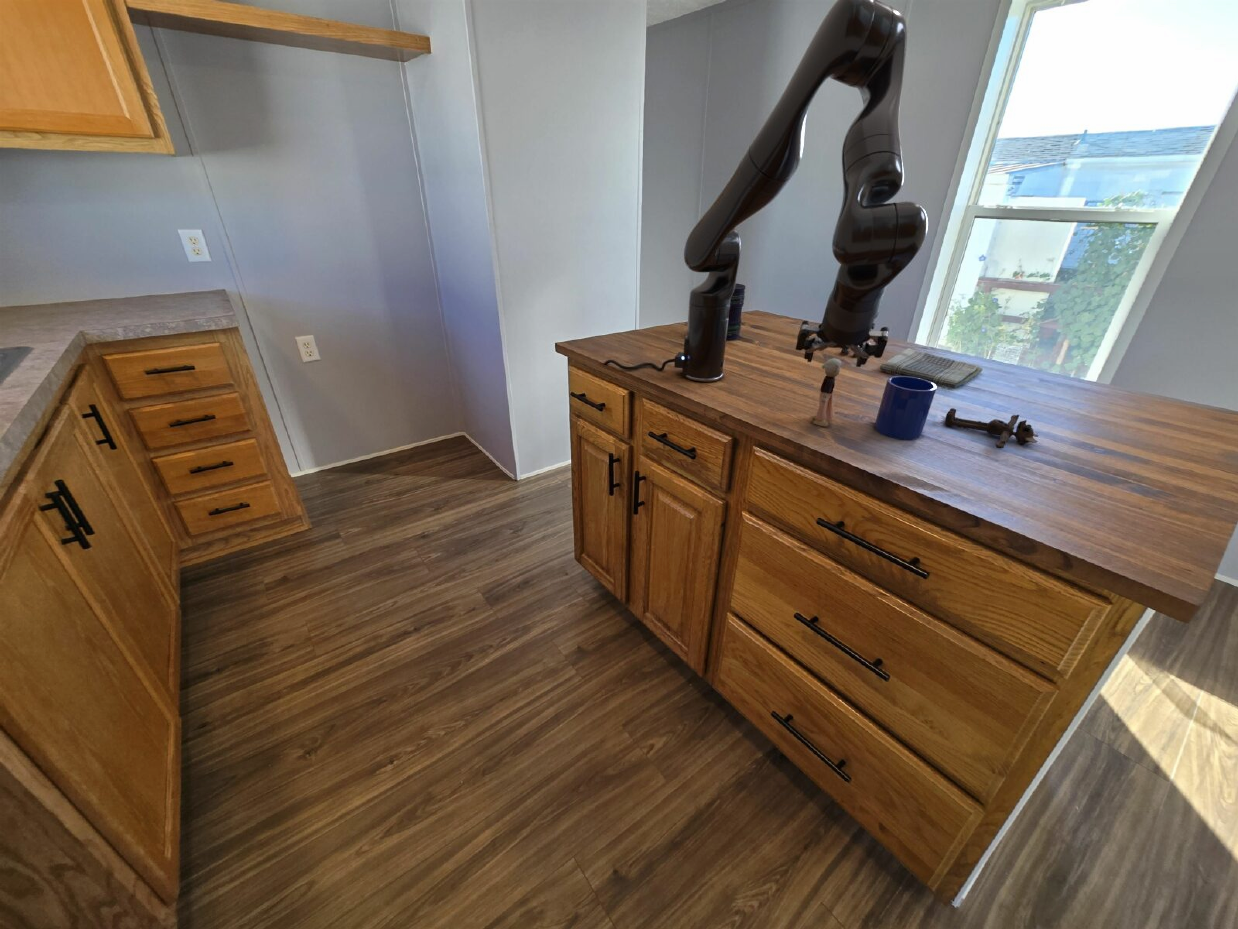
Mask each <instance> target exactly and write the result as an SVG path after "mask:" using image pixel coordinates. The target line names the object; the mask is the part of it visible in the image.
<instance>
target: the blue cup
mask: <svg viewBox="0 0 1238 929" xmlns="http://www.w3.org/2000/svg"><path fill="white" fill-rule="evenodd" d="M937 389H938V385H936V384H934V383H932V382H930V381H927V380H924V379H921V378H916V377H910V376H900V375H894V376H890V377H888V378H887V380H886V382H885V387H884V390H883V394H882V396H881V397H882V398H881V401H880V405H879V408H878V412H877V415H876V419H875V422H874V429H875V431H877V432H878V433H880V434H881V435H884V436H886V437H889V438H893V439H897V440H907V441H908V440H909V441H910V440H917V439H919V438H921V436H922V433H923V432H924V428H925V424H926V423H927V422H926V421H927V418H928V415H929V412H930V409H931V407H932V403H933V401H934V398H935V395H936V391H937Z"/></svg>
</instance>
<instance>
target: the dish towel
mask: <svg viewBox="0 0 1238 929" xmlns="http://www.w3.org/2000/svg"><path fill="white" fill-rule="evenodd" d="M879 369H880V371H882V372H885V373H888V374H892V375H894V376H910V377H916V378H921V379H924V380H927V381H930V382H932V383H934V384H935V385H936V386H941V387H946V388H949V389H950V388H951V389H956V388H958V387H960V386H962V385H964V384H966V383H968V382H969V381H970V380H972V379H973V378H975V377H976V376H979V374H981V373H982V371H983V368H982V367H980V366H979V365H978V364H977V365H976V364H973V363H969V362H965V361H959V360H958V361H957V360H955V359H952V358H949V357H943V356H937V355H935V354H932V353H928V352H921V351H918V350H914V349H912V348H906V349H905V350H902V351H901V352H899V353H898V354H896V355H895V356H893V357H892V358H890V359H888V360H886V361H885V362H883V363H881V365H880V366H879Z"/></svg>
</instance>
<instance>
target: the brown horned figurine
mask: <svg viewBox="0 0 1238 929" xmlns="http://www.w3.org/2000/svg"><path fill="white" fill-rule="evenodd" d="M956 414H957V409H956V408H954V407H952V408H950V409H949V410H948V411H947V413H946V415H945V418H944V425H945V426H947V427H957V428H962V429H963V430H965V429H967V430H968V429H970V430H976V431H980V432H985V433H987V434H988V435H990V436H996V437H997V436H999V437H1000V438H999V440H998V442H996V443H995V448H996V449H999V450H1000V449H1004V448H1005V446H1006V444H1007V441H1008V439H1009V438H1011V437H1013V436H1014V437H1015V439H1016V441H1017V442H1018V443H1020V444H1028V443H1033V444H1036V443H1038V440H1037V439H1035V438H1034V437H1036V438H1038V437H1039V435H1038V434H1036V433H1035V432H1034V428H1033V427H1032V425H1031V424H1029V423H1028V424H1027V419H1025V420H1021V421H1019V422H1018V420H1019V418H1020V414H1013V415H1010V416H1011V417H1010V420H1009V421H1008V422H1005V421H1003V420H1001V419H998V418H995V419H992V420H990V421H989V422H984V421H981V420H972V419H965V418H961V417H958V416H957V417H956ZM1017 422H1018V423H1017ZM1016 424H1017V425H1016ZM1015 425H1016V430H1015ZM1014 430H1015V431H1014Z"/></svg>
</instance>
